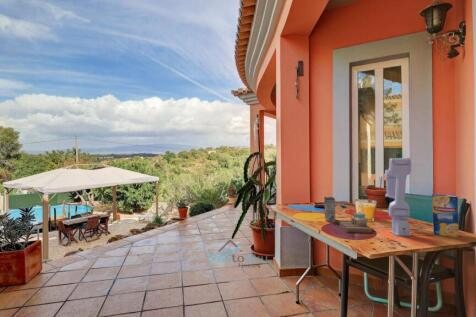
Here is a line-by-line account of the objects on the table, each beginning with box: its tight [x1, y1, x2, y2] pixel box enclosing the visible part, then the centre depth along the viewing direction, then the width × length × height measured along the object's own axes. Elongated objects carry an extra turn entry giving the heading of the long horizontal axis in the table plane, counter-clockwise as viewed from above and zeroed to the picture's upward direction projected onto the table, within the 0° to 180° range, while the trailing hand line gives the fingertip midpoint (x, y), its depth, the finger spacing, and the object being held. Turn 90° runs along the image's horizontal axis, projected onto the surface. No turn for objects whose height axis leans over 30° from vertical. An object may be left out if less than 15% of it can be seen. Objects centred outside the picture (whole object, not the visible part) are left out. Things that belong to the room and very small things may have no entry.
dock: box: [338, 219, 373, 234], centre depth 160 cm, size 20×14×2 cm
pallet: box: [350, 216, 368, 226], centre depth 160 cm, size 5×8×4 cm, turn 112°
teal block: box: [353, 212, 366, 219], centre depth 160 cm, size 4×5×2 cm
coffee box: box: [323, 196, 336, 222], centre depth 183 cm, size 9×6×16 cm
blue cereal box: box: [431, 193, 460, 238], centre depth 143 cm, size 7×11×22 cm, turn 54°
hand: (392, 209), depth 164 cm, fingers open, 7 cm apart
